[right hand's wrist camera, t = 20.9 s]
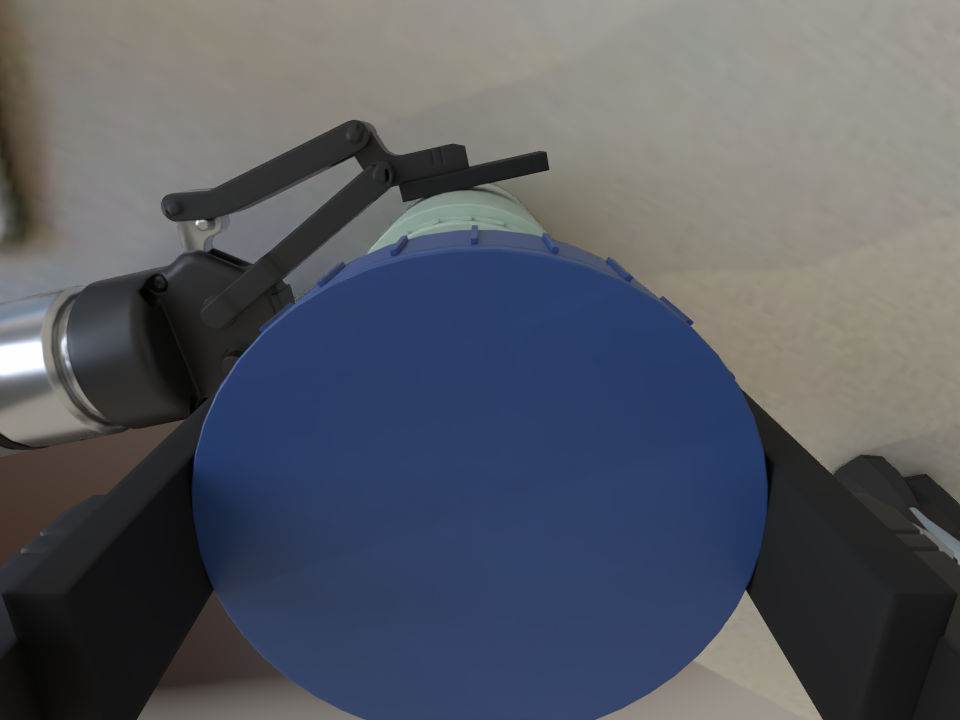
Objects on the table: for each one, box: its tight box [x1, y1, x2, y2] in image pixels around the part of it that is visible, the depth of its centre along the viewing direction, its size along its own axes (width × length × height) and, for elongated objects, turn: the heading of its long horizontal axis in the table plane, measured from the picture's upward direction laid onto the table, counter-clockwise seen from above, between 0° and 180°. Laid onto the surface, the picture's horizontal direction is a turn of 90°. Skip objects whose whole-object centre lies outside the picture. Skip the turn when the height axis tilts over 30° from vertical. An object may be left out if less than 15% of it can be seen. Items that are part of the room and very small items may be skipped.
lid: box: [191, 225, 768, 720], centre depth 11 cm, size 10×10×2 cm
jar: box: [366, 183, 547, 255], centre depth 27 cm, size 9×9×16 cm
